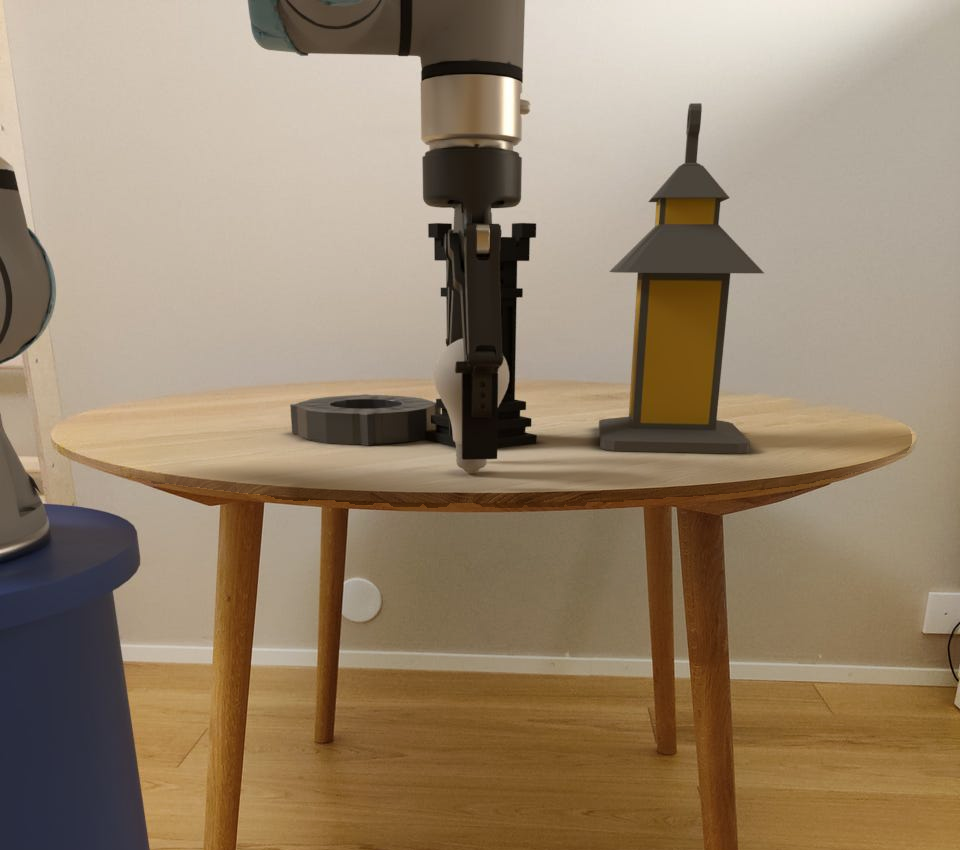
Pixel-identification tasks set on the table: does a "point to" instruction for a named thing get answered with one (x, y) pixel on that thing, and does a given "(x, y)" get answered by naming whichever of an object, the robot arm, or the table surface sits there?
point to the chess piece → (509, 408)
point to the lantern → (680, 318)
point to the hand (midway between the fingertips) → (471, 446)
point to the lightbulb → (452, 396)
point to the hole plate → (363, 419)
